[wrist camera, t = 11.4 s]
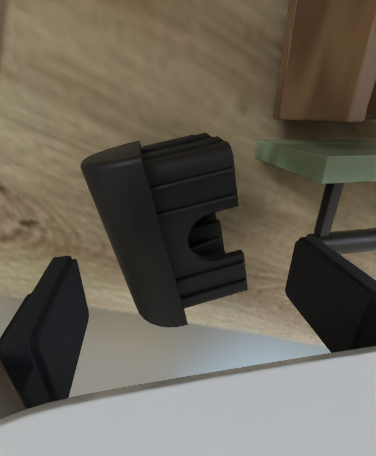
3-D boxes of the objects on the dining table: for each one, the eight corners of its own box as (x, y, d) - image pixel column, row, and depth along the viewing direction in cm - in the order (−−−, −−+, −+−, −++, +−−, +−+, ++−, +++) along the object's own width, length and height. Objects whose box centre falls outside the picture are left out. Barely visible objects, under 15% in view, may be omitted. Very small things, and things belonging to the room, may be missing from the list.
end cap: (91, 149, 16) (63, 173, 10) (199, 125, 16) (235, 132, 10) (137, 273, 20) (136, 342, 14) (219, 250, 21) (253, 307, 15)
